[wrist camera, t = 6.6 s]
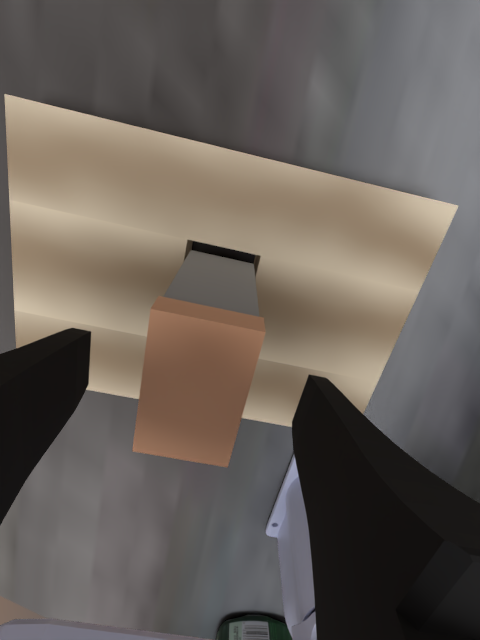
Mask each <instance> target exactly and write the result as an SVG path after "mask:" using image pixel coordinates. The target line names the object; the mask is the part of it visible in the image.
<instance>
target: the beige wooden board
mask: <svg viewBox="0 0 480 640" xmlns="http://www.w3.org/2000/svg"><path fill="white" fill-rule="evenodd" d="M5 113H6V134H7V156H8V178H9V200H10V222H11V244H12V266H13V287H14V309H15V331H16V348H19V347H22V346H24V345H27V344H29V343H32V342H34V341H37V340H40V339H42V338H45V337H47V336H50V335H52V334H55V333H58V332H60V331H63V330H66V329H69V328H76V329H81V330H86V331H91V348H90V366H89V384H88V386H87V388H86V390H92V391H97V392H103V393H108V394H114V395H119V396H124V397H130V398H135V399H139V395H140V387H141V379H142V372H143V364H144V356H145V348H146V340H147V332H148V324H149V317H150V309H151V307H152V306H153V304H154V302H155V301H156V299H157V298H158V296H162V297H163V296H164V295H165V293H166V291H167V289H168V288H169V286H170V284H171V283H172V281H173V279H174V278H175V276H176V274H177V273H178V271H179V269H180V267H181V266H182V264H183V262H184V261H185V259H186V257H187V256H188V254H189V252H190V250H192V245H193V241H197V242H201V243H206V244H210V245H215V246H219V247H224V248H228V249H233V250H237V251H242V252H246V253H251V254H255V259H254V263H253V264H254V270H255V279H256V289H257V298H258V308H259V317H263V318H264V323H265V331H266V333H265V337H264V340H263V344H262V347H261V351H260V354H259V358H258V361H257V365H256V368H255V372H254V376H253V379H252V383H251V386H250V390H249V393H248V397H247V400H246V404H245V407H244V411H243V415H242V418H245V419H250V420H256V421H261V422H267V423H272V424H278V425H283V426H289V427H292V420H293V417H294V414H295V412H296V409H297V406H298V403H299V400H300V398H301V395H302V392H303V389H304V386H305V384H306V381H307V378H308V375H309V374H310V375H315V376H320V377H325V378H327V379H328V380H330V381H331V382H332V383H333V384H334V385H335V386H336V387H337V388H338V389H339V390H340V391H341V392H342V393H343V394H344V395H345V396H346V397H347V398H348V400H349V401H350V402H351V403H352V404H353V405H354V406H355V407H356V408H357V409H358V410H359V411H360V412H361V413H362V414H363V413H364V411H365V409H366V407H367V404H368V402H369V400H370V398H371V396H372V393H373V391H374V389H375V387H376V385H377V383H378V380H379V378H380V376H381V374H382V372H383V369H384V367H385V365H386V363H387V361H388V359H389V356H390V354H391V352H392V350H393V348H394V346H395V343H396V341H397V339H398V337H399V335H400V332H401V330H402V328H403V326H404V324H405V322H406V319H407V317H408V315H409V313H410V311H411V308H412V306H413V304H414V302H415V300H416V298H417V295H418V293H419V291H420V289H421V287H422V284H423V282H424V280H425V278H426V276H427V274H428V271H429V269H430V267H431V265H432V263H433V260H434V258H435V256H436V254H437V252H438V250H439V247H440V245H441V243H442V241H443V239H444V236H445V234H446V232H447V230H448V228H449V226H450V223H451V221H452V219H453V217H454V215H455V212H456V210H457V208H458V206H457V205H453V204H449V203H445V202H441V201H437V200H433V199H429V198H425V197H421V196H417V195H413V194H408V193H404V192H400V191H396V190H392V189H388V188H384V187H380V186H376V185H372V184H368V183H364V182H360V181H356V180H352V179H348V178H344V177H339V176H335V175H331V174H327V173H323V172H319V171H315V170H311V169H307V168H303V167H299V166H295V165H291V164H287V163H283V162H279V161H274V160H270V159H266V158H262V157H258V156H254V155H250V154H246V153H242V152H238V151H234V150H230V149H226V148H222V147H218V146H214V145H210V144H205V143H201V142H197V141H193V140H189V139H185V138H181V137H177V136H173V135H169V134H165V133H161V132H157V131H153V130H149V129H145V128H141V127H136V126H132V125H128V124H124V123H120V122H116V121H112V120H108V119H104V118H100V117H96V116H92V115H88V114H84V113H80V112H76V111H72V110H67V109H63V108H59V107H55V106H51V105H47V104H43V103H39V102H35V101H31V100H27V99H23V98H19V97H15V96H11V95H7V94H5Z"/></svg>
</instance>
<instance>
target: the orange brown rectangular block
mask: <svg viewBox="0 0 480 640" xmlns="http://www.w3.org/2000/svg"><path fill="white" fill-rule="evenodd" d="M265 333H266V331H265V323H264V318H263V317H259V308H258V298H257V289H256V279H255V270H254V264H252V263H248V262H243V261H238V260H234V259H229V258H225V257H220V256H216V255H211V254H207V253H202V252H198V251H193V250H190V252H189V254H188V256H187V257H186V259H185V261H184V262H183V264H182V266H181V267H180V269H179V271H178V273H177V274H176V276H175V278H174V279H173V281H172V283H171V284H170V286H169V288H168V289H167V291H166V293H165V295H164V296H163V297H162V296H158V298H157V299H156V301H155V302H154V304H153V306H152V307H151V309H150V317H149V324H148V332H147V340H146V348H145V356H144V364H143V372H142V379H141V387H140V395H139V403H138V411H137V419H136V427H135V435H134V442H133V450H132V451H134V452H140V453H145V454H151V455H157V456H163V457H169V458H175V459H181V460H187V461H192V462H198V463H204V464H210V465H216V466H222V467H228V464H229V461H230V457H231V454H232V450H233V447H234V443H235V439H236V436H237V432H238V429H239V425H240V422H241V418H242V415H243V411H244V407H245V404H246V400H247V397H248V393H249V390H250V386H251V383H252V379H253V376H254V372H255V368H256V365H257V361H258V358H259V354H260V351H261V347H262V344H263V340H264V337H265Z"/></svg>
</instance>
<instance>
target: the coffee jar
mask: <svg viewBox="0 0 480 640" xmlns="http://www.w3.org/2000/svg"><path fill="white" fill-rule="evenodd" d="M216 640H292V636H291V634H290V632H289V630H288V627H287V625H286V624H285V623H282V622H280V621H277V620H275V619H272V618H270V617H268V616H263V615H246V616H243V617H238V618H234V619H230V620H226V621H225V622H224V623H223V624H222V625H221V627H220V629H219V631H218V633H217V636H216Z"/></svg>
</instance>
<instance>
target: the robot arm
mask: <svg viewBox="0 0 480 640" xmlns="http://www.w3.org/2000/svg"><path fill="white" fill-rule="evenodd" d="M90 348H91V331H86V330H81V329H76V328H69V329H66V330H63V331H60V332H58V333H55V334H52V335H50V336H47V337H45V338H42V339H40V340H37V341H34V342H32V343H29V344H27V345H24V346H22V347H19V348H16V349H14V350H11V351H8V352H5V353H2V354H0V525H1V523H2V521H3V519H4V517H5V516H6V514H7V512H8V510H9V509H10V507H11V505H12V503H13V502H14V500H15V498H16V496H17V495H18V493H19V491H20V489H21V488H22V486H23V484H24V483H25V481H26V479H27V478H28V476H29V475H30V473H31V472H32V470H33V469H34V467H35V466H36V465H37V463H38V462H39V460H40V459H41V458H42V456H43V455H44V453H45V452H46V451H47V449H48V448H49V446H50V445H51V444H52V442H53V441H54V439H55V438H56V437H57V435H58V434H59V432H60V431H61V430H62V428H63V427H64V425H65V424H66V423H67V421H68V420H69V418H70V417H71V415H72V414H73V413H74V411H75V409H76V408H77V406H78V404H79V402H80V400H81V398H82V396H83V394H84V392H85V390H86V388H87V386H88V384H89V366H90ZM292 437H293V450H294V455H293V457H292V460H291V463H290V465H289V468H288V471H287V473H286V476H285V479H284V481H283V484H282V486H281V489H280V492H279V494H278V497H277V500H276V502H275V505H274V508H273V510H272V513H271V516H270V518H269V521H268V523H267V526H266V534H267V535H268V536H270V537H276V538H277V540H278V551H279V562H280V573H281V584H282V595H283V606H284V615H285V620H286V624H287V627H288V630H289V632H290V634H291V636H292V639H293V640H480V503H478V502H476V501H474V500H473V499H471V498H470V497H468V496H466V495H465V494H463V493H462V492H460V491H458V490H457V489H455V488H454V487H452V486H451V485H449V484H448V483H446V482H445V481H444V480H442V479H441V478H439V477H438V476H436V475H435V474H433V473H432V472H430V471H429V470H428V469H426V468H425V467H424V466H422V465H421V464H420V463H418V462H417V461H416V460H414V459H413V458H412V457H411V456H409V455H408V454H407V453H406V452H404V451H403V450H402V449H400V448H399V447H398V446H397V445H396V444H395V443H393V442H392V441H391V440H390V439H389V438H388V437H387V436H385V435H384V434H383V433H382V432H381V431H380V430H379V429H378V428H377V427H376V426H375V425H373V424H372V423H371V422H370V421H369V420H368V419H367V418H366V417H365V416H364V415H363V414H362V413H361V412H360V411H359V410H358V409H357V408H356V407H355V406H354V405H353V404H352V403H351V402H350V401H349V400H348V398H347V397H346V396H345V395H344V394H343V393H342V392H341V391H340V390H339V389H338V388H337V387H336V386H335V385H334V384H333V383H332V382H331V381H330V380H328V379H327V378H325V377H320V376H315V375H310V374H309V375H308V378H307V381H306V384H305V386H304V389H303V392H302V395H301V398H300V400H299V403H298V406H297V409H296V412H295V414H294V417H293V420H292ZM0 640H212V639H205V638H197V637H189V636H182V635H174V634H166V633H159V632H151V631H143V630H136V629H128V628H120V627H113V626H105V625H97V624H90V623H82V622H74V621H67V620H59V619H14V620H12V621H9V622H7V623H4V624H2V625H0Z"/></svg>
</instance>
